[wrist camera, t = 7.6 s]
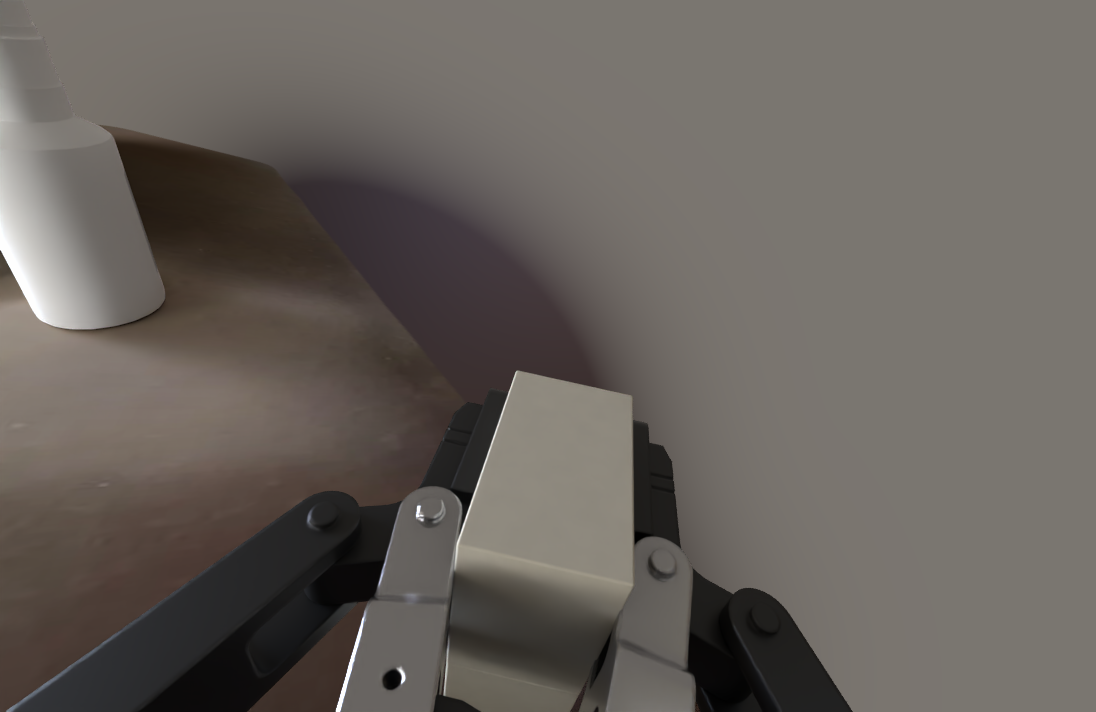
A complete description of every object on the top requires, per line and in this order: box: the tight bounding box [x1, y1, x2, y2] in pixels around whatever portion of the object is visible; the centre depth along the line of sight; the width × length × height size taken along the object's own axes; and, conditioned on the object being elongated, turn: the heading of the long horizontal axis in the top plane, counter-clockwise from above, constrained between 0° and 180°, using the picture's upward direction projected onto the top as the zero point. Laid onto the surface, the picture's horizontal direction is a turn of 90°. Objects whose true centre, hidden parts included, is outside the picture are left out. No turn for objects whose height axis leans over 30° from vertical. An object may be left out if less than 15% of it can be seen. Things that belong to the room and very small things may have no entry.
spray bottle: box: [0, 0, 165, 329], centre depth 27 cm, size 7×7×18 cm
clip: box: [444, 371, 635, 712], centre depth 13 cm, size 5×3×11 cm, turn 172°
